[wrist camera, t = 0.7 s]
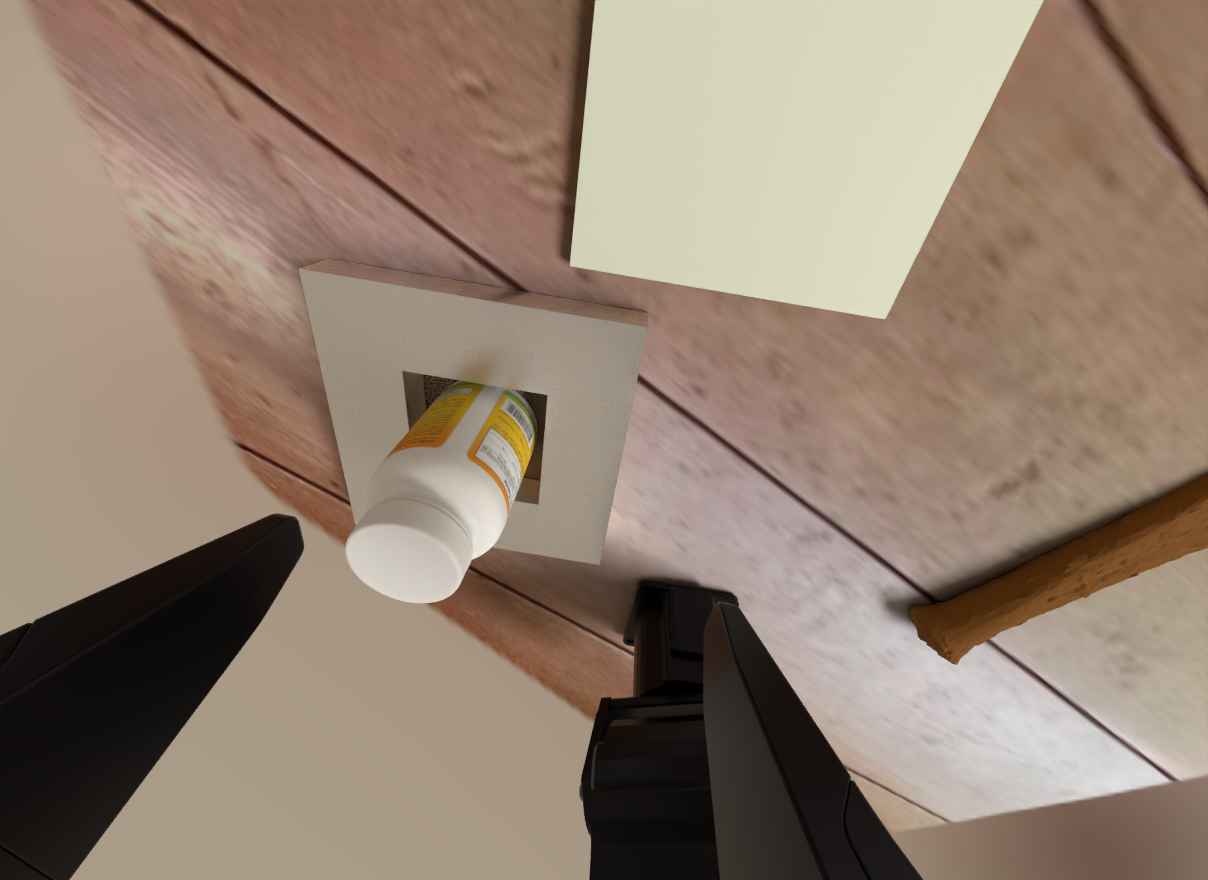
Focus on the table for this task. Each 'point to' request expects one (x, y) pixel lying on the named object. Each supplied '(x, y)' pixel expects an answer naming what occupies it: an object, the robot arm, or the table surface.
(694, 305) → the table surface
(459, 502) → the supplement bottle
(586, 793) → the robot arm
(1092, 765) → the table surface
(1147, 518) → the primitive tool
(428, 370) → the post foot
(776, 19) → the sage pad
